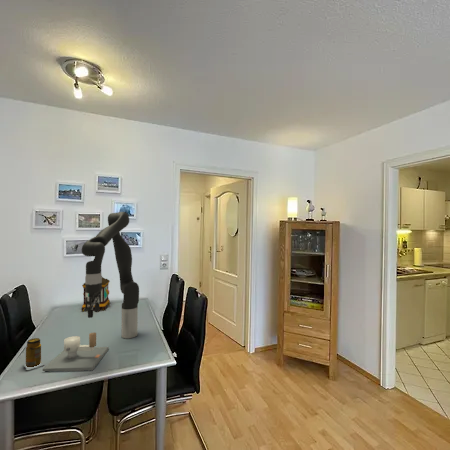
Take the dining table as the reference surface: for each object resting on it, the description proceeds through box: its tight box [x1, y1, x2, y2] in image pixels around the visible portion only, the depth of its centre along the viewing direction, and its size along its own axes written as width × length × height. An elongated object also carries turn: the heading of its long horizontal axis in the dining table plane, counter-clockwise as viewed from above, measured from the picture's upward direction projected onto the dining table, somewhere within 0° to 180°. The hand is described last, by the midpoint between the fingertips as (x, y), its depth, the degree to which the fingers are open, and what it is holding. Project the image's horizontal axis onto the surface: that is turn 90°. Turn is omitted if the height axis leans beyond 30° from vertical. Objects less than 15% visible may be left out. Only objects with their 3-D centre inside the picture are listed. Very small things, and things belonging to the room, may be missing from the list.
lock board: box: [42, 346, 109, 372], centre depth 139 cm, size 22×22×5 cm
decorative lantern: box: [81, 276, 111, 312], centre depth 227 cm, size 20×20×30 cm
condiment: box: [25, 337, 42, 367], centre depth 133 cm, size 7×8×12 cm
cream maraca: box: [63, 332, 97, 352], centre depth 139 cm, size 15×9×8 cm, turn 92°
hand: (93, 314), depth 140 cm, fingers open, 8 cm apart
